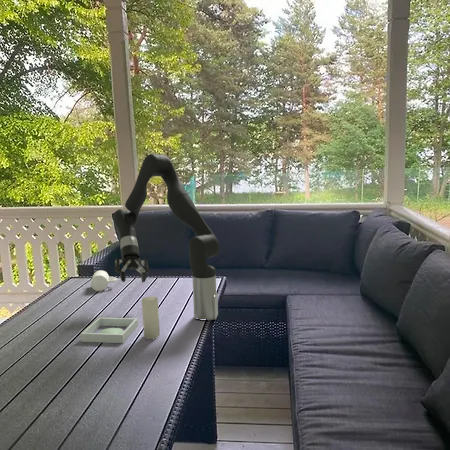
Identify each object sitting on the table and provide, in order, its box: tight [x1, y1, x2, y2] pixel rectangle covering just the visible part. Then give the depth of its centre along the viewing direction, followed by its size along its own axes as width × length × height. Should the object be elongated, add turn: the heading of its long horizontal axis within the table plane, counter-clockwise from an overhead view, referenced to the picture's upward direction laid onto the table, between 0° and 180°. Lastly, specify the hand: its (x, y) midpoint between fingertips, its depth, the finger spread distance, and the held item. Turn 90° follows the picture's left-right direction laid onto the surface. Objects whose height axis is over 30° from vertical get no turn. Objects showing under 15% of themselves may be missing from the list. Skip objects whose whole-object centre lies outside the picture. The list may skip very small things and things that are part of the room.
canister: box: [141, 295, 161, 340], centre depth 159 cm, size 6×6×14 cm
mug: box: [90, 269, 118, 292], centre depth 220 cm, size 12×10×8 cm
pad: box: [98, 327, 124, 334], centre depth 163 cm, size 9×9×1 cm
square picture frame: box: [80, 317, 139, 344], centre depth 163 cm, size 16×16×3 cm
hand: (134, 281), depth 185 cm, fingers open, 8 cm apart
